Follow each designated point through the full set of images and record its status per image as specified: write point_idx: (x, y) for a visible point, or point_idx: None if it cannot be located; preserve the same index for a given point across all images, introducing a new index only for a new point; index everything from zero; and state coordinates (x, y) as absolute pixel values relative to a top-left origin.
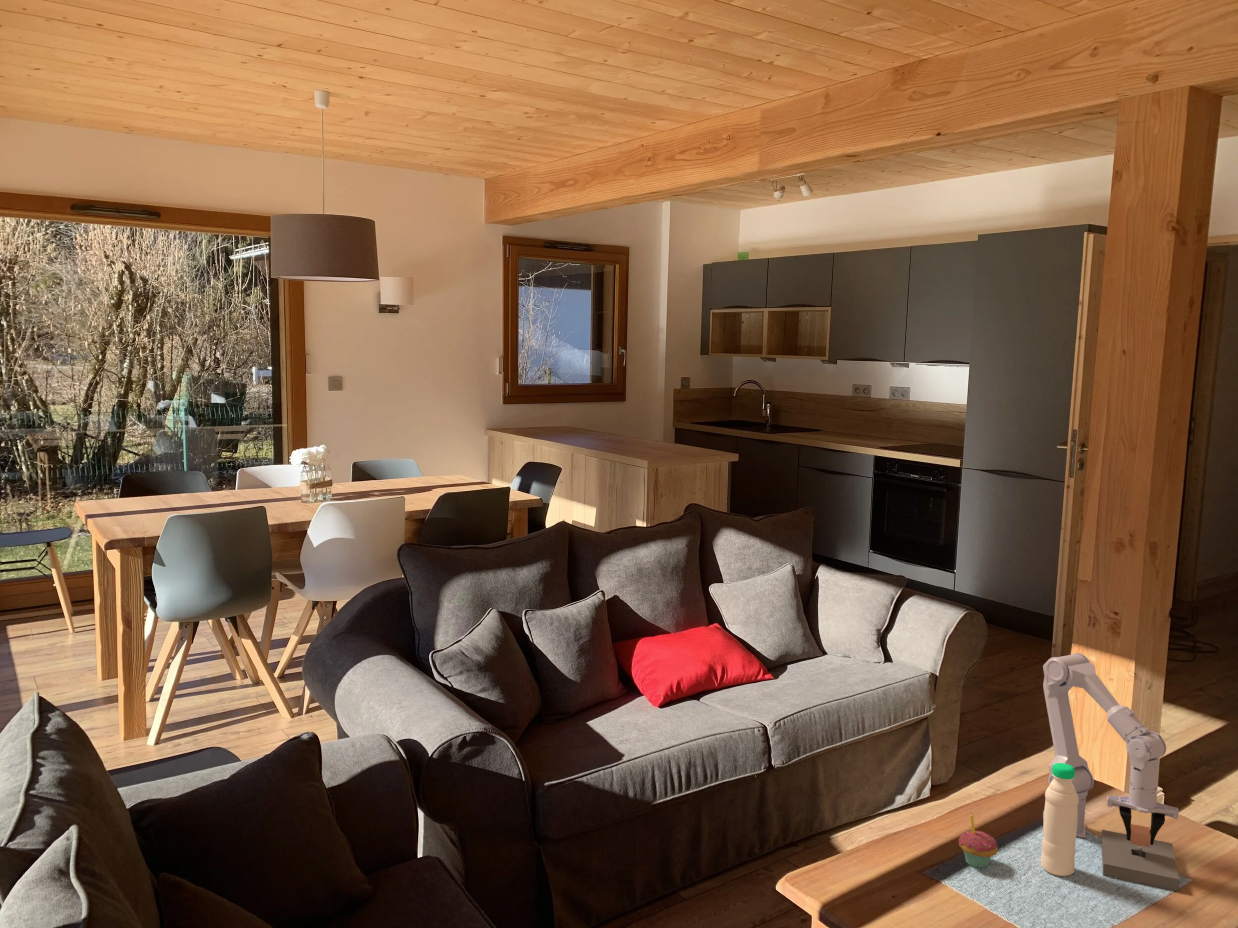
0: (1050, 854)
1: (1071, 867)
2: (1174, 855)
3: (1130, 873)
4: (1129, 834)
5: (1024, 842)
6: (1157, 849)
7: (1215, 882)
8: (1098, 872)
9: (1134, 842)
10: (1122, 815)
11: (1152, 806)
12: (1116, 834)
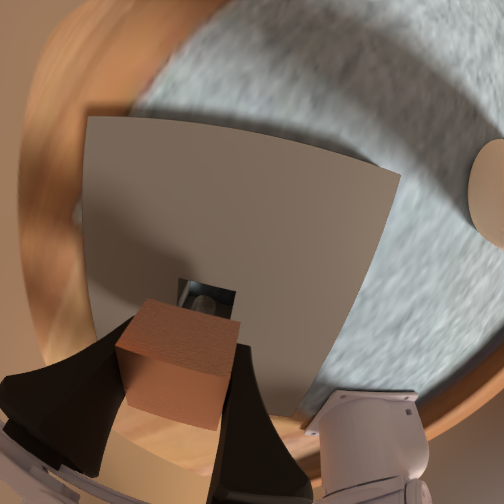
0: None
1: (499, 149)
2: (91, 308)
3: (282, 138)
4: (239, 364)
5: (492, 323)
6: None
7: (34, 221)
8: None
9: (218, 323)
10: (299, 482)
11: None
12: None
